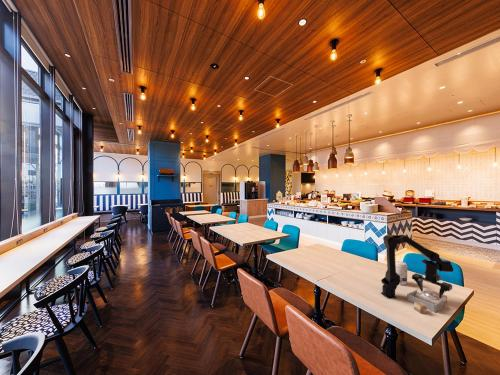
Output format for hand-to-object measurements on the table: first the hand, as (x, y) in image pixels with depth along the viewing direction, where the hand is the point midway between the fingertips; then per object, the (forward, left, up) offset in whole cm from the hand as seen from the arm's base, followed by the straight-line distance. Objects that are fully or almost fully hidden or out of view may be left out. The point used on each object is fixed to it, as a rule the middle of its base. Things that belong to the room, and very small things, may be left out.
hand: (430, 294), depth 131 cm
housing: (-7, -4, -3) cm, 9 cm away
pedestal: (-17, -11, -3) cm, 21 cm away
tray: (0, 0, -3) cm, 3 cm away
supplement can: (-1, +22, -3) cm, 23 cm away
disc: (0, 0, -1) cm, 1 cm away
